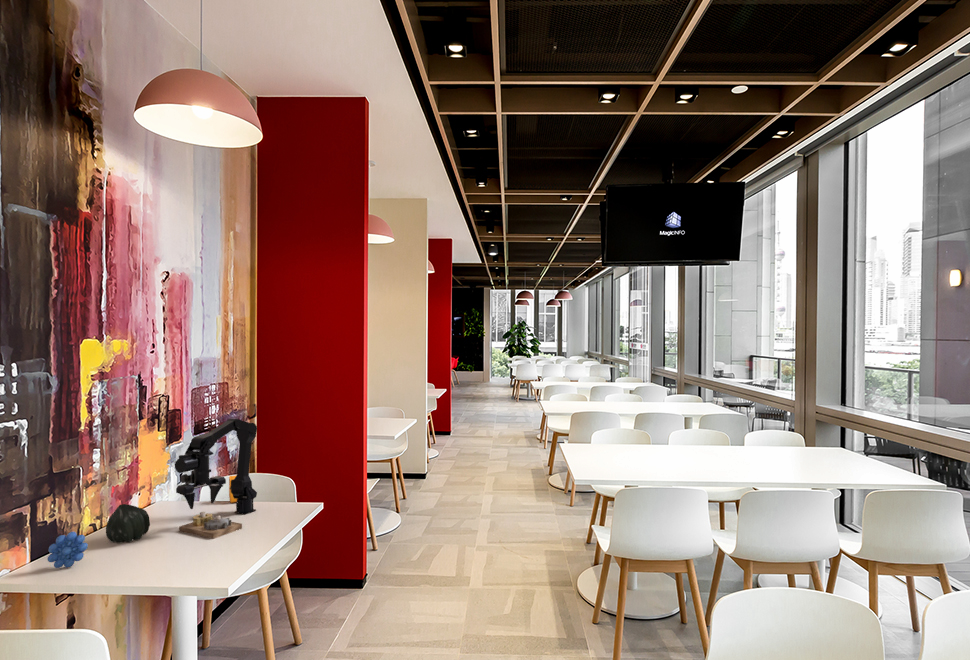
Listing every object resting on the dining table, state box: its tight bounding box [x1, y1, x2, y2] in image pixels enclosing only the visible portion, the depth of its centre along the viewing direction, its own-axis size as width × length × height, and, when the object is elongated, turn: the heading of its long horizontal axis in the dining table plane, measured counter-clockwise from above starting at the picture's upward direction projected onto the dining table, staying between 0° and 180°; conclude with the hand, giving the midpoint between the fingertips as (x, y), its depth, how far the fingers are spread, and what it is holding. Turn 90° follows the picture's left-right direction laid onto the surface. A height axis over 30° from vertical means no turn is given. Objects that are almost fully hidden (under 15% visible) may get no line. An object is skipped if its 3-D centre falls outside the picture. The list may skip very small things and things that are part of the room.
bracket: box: [228, 474, 237, 504], centre depth 275 cm, size 11×7×12 cm, turn 27°
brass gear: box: [192, 513, 213, 526], centre depth 233 cm, size 7×7×3 cm
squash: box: [105, 503, 151, 544], centre depth 222 cm, size 14×15×15 cm
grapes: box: [47, 531, 89, 569], centre depth 196 cm, size 12×7×12 cm, turn 108°
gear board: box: [178, 511, 243, 540], centre depth 231 cm, size 13×21×6 cm, turn 62°
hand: (202, 506), depth 233 cm, fingers open, 9 cm apart
